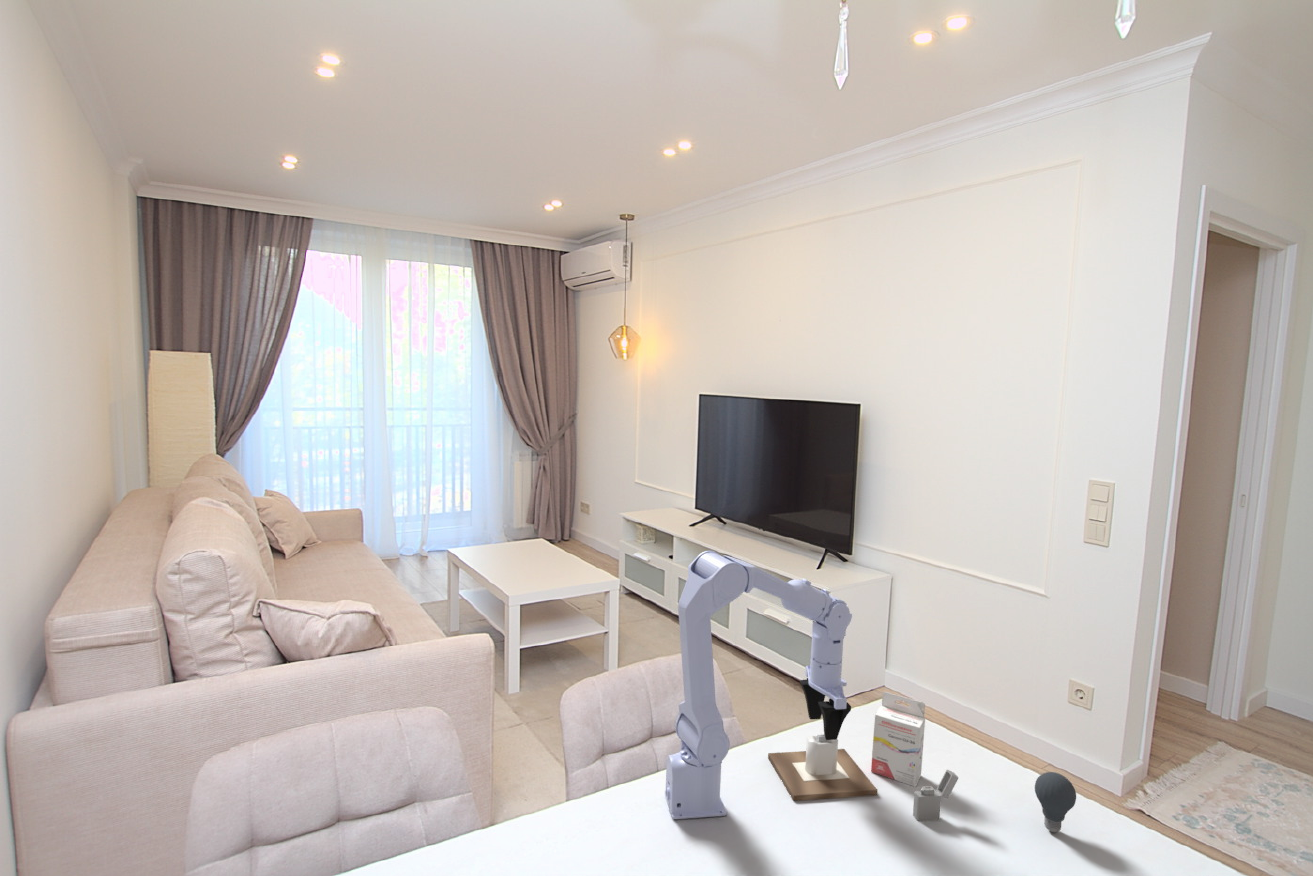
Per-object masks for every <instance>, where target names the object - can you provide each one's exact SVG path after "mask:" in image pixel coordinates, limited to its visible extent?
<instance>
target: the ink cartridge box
mask: <svg viewBox="0 0 1313 876" xmlns="http://www.w3.org/2000/svg"><path fill="white" fill-rule="evenodd" d="M902 701H903V702H904V703H905V704H908V705H909V706H906V705H903V704H899V703H897V702H902ZM925 708H926V704H925V702H924V701H920V700H916V699H913V698H910V697H905V696H902V695H898V694H894V693H892V692H888V691H882V694H881V705H880V707H879V708H878V710H877V712H876V713H875V714H874V715H875V716H874V725H873V726H874V727H873V738H872V739H873V740H872V749H871V764H870V765H871V768H870V769H871V770H870V771H871V773H874V774H877V775H879V776H882V777H885V778H889V779H892V780H894V781H897V782H900V783H903V784H906V785H909V786H912V787H914V788H915V787H917V785H918V783H919V780H920V777H921V776H922V775H921V774H922V769H923V768H922V765H923V752H924V740H925V739H924V738H925V727H926V725H925V724H926V718H925V713H926V712H925V711H926V710H925Z"/></svg>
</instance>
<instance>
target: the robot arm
mask: <svg viewBox="0 0 1313 876" xmlns="http://www.w3.org/2000/svg"><path fill="white" fill-rule="evenodd" d="M754 588H755V589H757V590H759V591H761V592H764V593H766V594H769V595H772V596H774V597H777V598H778V599H780V601H781V605H782V606H783V608H784V609H786V610H788V611H789V612H793V614H794V613H795V614H797V615H799V616H801V617H804V618H806V619H808V620H810V621H812V627H811V644H810V645H811V647H810V648H811V649H810V663H809V664H810V665H806V666H805V676H806V679H800V680H799V685H800V686H801V689H802V691H803V695H804V697H805V701H806V702H805V703H806V708H807V713H808V718H809V720H821V719H822V720H823V721H822V723H823V735H825V738H826V740H836V739H838V738H839V734H840V732H841V728H842V725H843V723H844V721H845V719H846V717H847V716H848V715H849V714H850V712H851V710H852V706H851V704H850V703H849V702H848V699H847V697H846V696H845V694H844V687H847V685H848V683H847V681H846V679H844V678H842V666H843V650H844V639H845V637H846V635H847V634H846V632H847V629H848V626H849V625H850V623H851V622H852V618H853V613H851V612H850V608H849V605H848V604H847V603H846V602H845V601H844V600H842V599H841V598H839V597H836V596H833V595H831V594H830V591H828V590H826V589H824V588H821V590H820V589H819V588H817V587H815V586H813V585H812V581H810V580H808V579H806V578H803V577H802V578H801V579H797V578H796V579H795V578H794V579H791V580H789V581H785V580H783V579H781V578H779V577H777V576H776V575H773V574H771V573H769V572H767V571H765V570H764V569H761V568H759V567H757V566H756V565H753V564H752V563H749V562H747V561H744V560H741V559H738V558H735V557H732V556H728V555H725V554H723V555H721V554H720V553H718V552H717V551H714V550H705V551H703V552H701V553H699V554H698V555H697V556H696V557H695V558H694V560H692V562H690V564H689V565H688V566H687V579H686V581H685V584H684V588H683V589H682V593H681V595H680V598H679V600H678V605H677V609H678V623H679V624H678V625H679V639H680V651H681V652H680V655H681V668H682V679H683V683H682V684H683V695H684V697H683V698H684V700H683V701H682V702H680V703H679V704H678V716H677V717H676V721H675V725H674V729H675V730H674V731H675V733H676V736H677V737H678V738H679V739H680V751H679V752H676V753H673V754H669V755H668V756H667V757H666V768H665V769H666V771H665V774H666V775H665V790H664V794H665V798H666V801H667V805H668V808H669V812H670V816H671V818H672V819H673V820H683V819H685V820H686V819H697V818H698V819H699V818H712V817H723V816H727V810H726V807H725V805H724V803H723V801H722V797H721V783H722V781H721V780H722V763H723V761H724V760H725V758H726V756H727V755H728V753H729V750H730V746H731V744H730V743H731V742H730V738H729V736H728V734H727V732H726V730H725V728H724V727H725V726H724V720H723V717H722V715H721V713H720V710H719V709H718V706H717V703H716V702H717V701H716V687H715V685H716V684H715V671H714V669H715V668H714V654H713V642H712V641H713V639H712V638H713V637H712V624H711V623H712V622H711V617H712V616H713V615H714V613H716V612H718V611H719V610H721V609H722V608H725V606H728V605H729V604H731V603H732V602H733V601H735V600H737V599H738V598H739V597H740V596H741V595H743V593H746V594H748V593H750V592H751V591H752V590H753V589H754ZM826 697H827V698H828V701H825V698H826Z"/></svg>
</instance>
